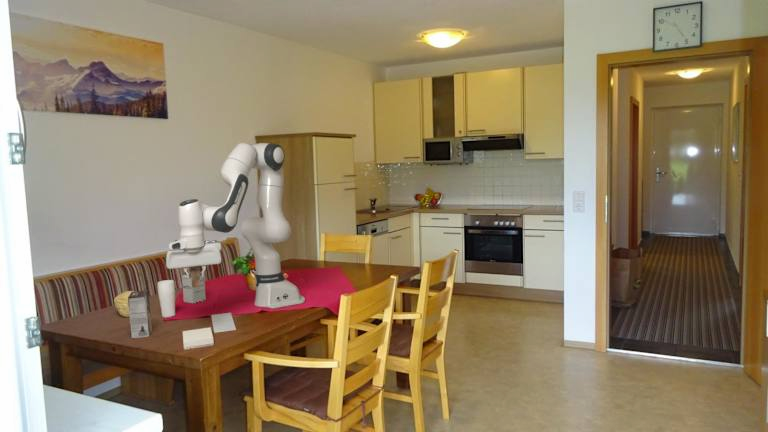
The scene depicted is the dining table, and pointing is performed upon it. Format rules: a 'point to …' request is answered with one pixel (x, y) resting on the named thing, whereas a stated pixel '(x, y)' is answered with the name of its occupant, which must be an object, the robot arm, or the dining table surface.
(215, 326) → the mat
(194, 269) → the stick
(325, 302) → the dining table surface
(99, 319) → the dining table surface
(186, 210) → the robot arm
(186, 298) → the supplement box
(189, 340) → the tile
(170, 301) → the drinking glass
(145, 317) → the coffee box
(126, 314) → the sculpture
